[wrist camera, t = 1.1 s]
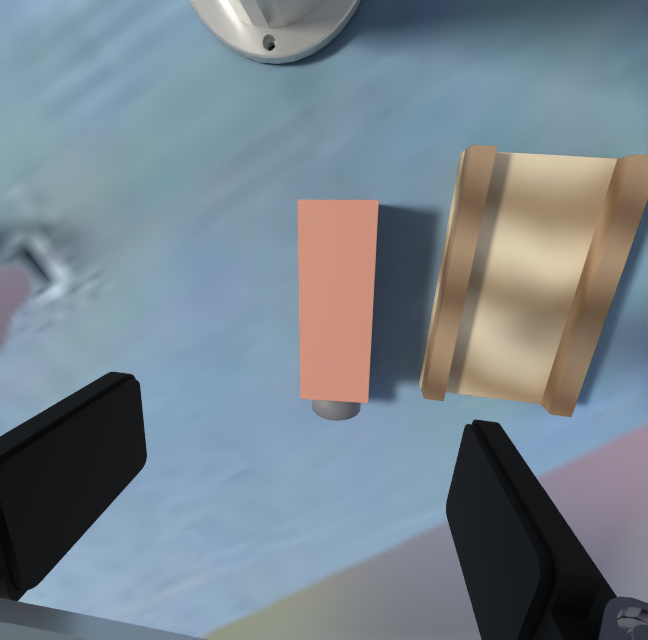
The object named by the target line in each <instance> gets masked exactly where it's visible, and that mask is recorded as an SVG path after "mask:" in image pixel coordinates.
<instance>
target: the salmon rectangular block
mask: <svg viewBox="0 0 648 640" xmlns="http://www.w3.org/2000/svg"><path fill="white" fill-rule="evenodd" d="M378 204H379V200H298V253H299V318H300V383H301V399H312V409H313V411H314V412H315V413H316V414H317V415H318V416H320V417H322V418H325V419H328V420H346V419H350V418H352V417H354V416H356V415H357V414H358V413H359V411H360V404H361V403H368V393H369V374H370V355H371V336H372V317H373V299H374V280H375V261H376V242H377V223H378Z"/></svg>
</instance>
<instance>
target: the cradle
mask: <svg viewBox="0 0 648 640" xmlns="http://www.w3.org/2000/svg"><path fill="white" fill-rule="evenodd" d="M496 150H497V146H481V145H472V146H470V147H469V148H467V149H466V150H464V151H463V152H462V153H461V155H460V161H459V166H458V172H457V177H456V183H455V188H454V194H453V199H452V205H451V210H450V216H449V221H448V227H447V232H446V238H445V243H444V249H443V254H442V260H441V265H440V271H439V276H438V282H437V287H436V293H435V298H434V304H433V309H432V315H431V320H430V326H429V331H428V336H427V342H426V347H425V353H424V358H423V364H422V369H421V375H420V380H419V385H420V388H421V391H422V394H423V397H424V399H431V400H439V401H444V396H445V392H447V393H455V394H463V395H472V396H480V397H488V398H496V399H504V400H512V401H521V402H529V403H537V404H541V405H542V406H543V407H544V408H545V409H546V410H547V411H548V412H549V413H550V414H551V415H559V416H567V417H572V414H573V411H574V408H575V405H576V403H577V400H578V397H579V394H580V391H581V388H582V385H583V383H584V380H585V377H586V374H587V371H588V368H589V365H590V363H591V360H592V357H593V354H594V351H595V348H596V346H597V343H598V340H599V337H600V334H601V331H602V328H603V326H604V323H605V320H606V317H607V314H608V311H609V308H610V306H611V303H612V300H613V297H614V294H615V291H616V289H617V286H618V283H619V280H620V277H621V274H622V271H623V269H624V266H625V263H626V260H627V257H628V254H629V252H630V249H631V246H632V243H633V240H634V237H635V234H636V232H637V229H638V226H639V223H640V220H641V217H642V214H643V212H644V209H645V206H646V203H647V200H648V155H639V154H635V155H631V156H627V157H623V158H619V159H610V158H593V157H576V156H559V155H542V154H525V153H508V152H496Z"/></svg>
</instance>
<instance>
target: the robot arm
mask: <svg viewBox="0 0 648 640" xmlns="http://www.w3.org/2000/svg"><path fill="white" fill-rule="evenodd" d="M190 2H191V4H192V5H193V7H194V8H195V10H196V12H197V13H198V15H199V16H200V18H201V19H202V21H203V22H204V23H205V24H206V26H207V27H208V28H209V29H210V31H211V32H212V33H213V34H214V35H215V36H216V37H217V38H218V39H219V40H220V41H221V42H222V43H224V44H225V45H226V46H227V47H228V48H230V49H231V50H233V51H235V52H236V53H238V54H240V55H241V56H243V57H246V58H249V59H252V60H255V61H258V62H263V63H273V64H280V63H287V62H294V61H297V60H299V59H302V58H305V57H307V56H310V55H312V54H314V53H315V52H317V51H318V50H320V49H321V48H323V47H325V46H326V45H327V44H329V43H330V42H331V41H332V40H333V39H334V38H335V37H336V36H337V35H338V34H339V33H340V32H341V31H342V30H343V28H344V27H345V26H346V24H347V23H348V22H349V20H350V19H351V18H352V16H353V15H354V13H355V12H356V10H357V8H358V6H359V4H360V2H361V0H190ZM271 46H275V48H274V49H273V50H271V51H269V50H270V47H271ZM146 459H147V451H146V441H145V431H144V421H143V411H142V401H141V391H140V383H139V382H138V381H137V380H136V379H135V377H134V376H133V375H132V374H126V373H119V372H109V373H107V374H106V375H104V376H102V377H100V378H99V379H97V380H95V381H94V382H92V383H90V384H89V385H87V386H85V387H83V388H82V389H80V390H78V391H77V392H75V393H73V394H72V395H70V396H68V397H66V398H65V399H63V400H61V401H60V402H58V403H56V404H55V405H53V406H51V407H50V408H48V409H46V410H44V411H43V412H41V413H39V414H38V415H36V416H34V417H33V418H31V419H29V420H27V421H26V422H24V423H22V424H21V425H19V426H17V427H16V428H14V429H12V430H11V431H9V432H7V433H5V434H4V435H2V436H0V640H207V639H202V638H197V637H192V636H188V635H183V634H178V633H173V632H168V631H163V630H158V629H153V628H148V627H143V626H138V625H133V624H128V623H124V622H119V621H114V620H109V619H104V618H99V617H94V616H89V615H84V614H79V613H74V612H69V611H63V610H58V609H53V608H48V607H43V606H38V605H33V604H28V603H23V602H18V600H19V599H20V598H21V597H22V596H23V595H24V594H25V593H26V592H27V590H29V589H32V588H34V587H35V586H37V585H38V584H39V583H40V582H41V581H42V580H43V579H44V578H45V577H46V575H47V574H48V573H49V572H50V571H51V570H52V569H53V568H54V567H55V565H56V564H57V563H58V562H59V561H60V560H61V559H62V558H63V557H64V555H65V554H66V553H67V552H68V551H69V550H70V549H71V548H72V547H73V545H74V544H75V543H76V542H77V541H78V540H79V539H80V538H81V537H82V535H83V534H84V533H85V532H86V531H87V530H88V529H89V528H90V526H91V525H92V524H93V523H94V522H95V521H96V520H97V519H98V518H99V516H100V515H101V514H102V513H103V512H104V511H105V510H106V509H107V508H108V506H109V505H110V504H111V503H112V502H113V501H114V500H115V499H116V498H117V496H118V495H119V494H120V493H121V492H122V491H123V490H124V489H125V487H126V486H127V485H128V484H129V483H130V482H131V481H132V480H133V479H134V477H135V476H136V475H137V474H138V473H139V472H140V471H141V470H142V468H143V467H144V465H145V462H146ZM446 514H447V519H448V523H449V526H450V530H451V533H452V537H453V540H454V544H455V547H456V551H457V554H458V558H459V561H460V565H461V568H462V572H463V575H464V579H465V582H466V586H467V590H468V593H469V597H470V600H471V603H472V607H473V611H474V614H475V618H476V621H477V625H478V628H479V632H480V635H481V639H482V640H648V603H646V602H643V601H640V600H637V599H635V598H629V597H617V596H616V595H615V593H614V592H613V590H612V589H611V587H610V586H609V584H608V583H607V581H606V580H605V578H604V577H603V576H602V574H601V573H600V571H599V570H598V568H597V567H596V565H595V564H594V562H593V561H592V559H591V558H590V556H589V555H588V554H587V552H586V550H585V549H584V547H583V546H582V544H581V543H580V542H579V540H578V539H577V537H576V536H575V534H574V533H573V531H572V530H571V528H570V527H569V525H568V524H567V522H566V521H565V519H564V518H563V516H562V515H561V513H560V512H559V511H558V509H557V508H556V506H555V505H554V503H553V502H552V500H551V499H550V497H549V496H548V494H547V493H546V491H545V490H544V488H543V487H542V486H541V484H540V483H539V481H538V480H537V478H536V477H535V475H534V474H533V473H532V471H531V470H530V468H529V467H528V465H527V464H526V462H525V461H524V459H523V458H522V456H521V455H520V453H519V452H518V450H517V449H516V447H515V446H514V444H513V443H512V441H511V440H510V439H509V437H508V436H507V434H506V433H505V431H504V430H503V428H502V427H501V425H500V424H499V423H497V422H490V421H483V420H474V421H473V422H472V425H471V424H467V425H466V426H465V428H464V432H463V436H462V440H461V444H460V448H459V453H458V457H457V461H456V465H455V469H454V473H453V477H452V481H451V486H450V490H449V494H448V498H447V503H446Z"/></svg>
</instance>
